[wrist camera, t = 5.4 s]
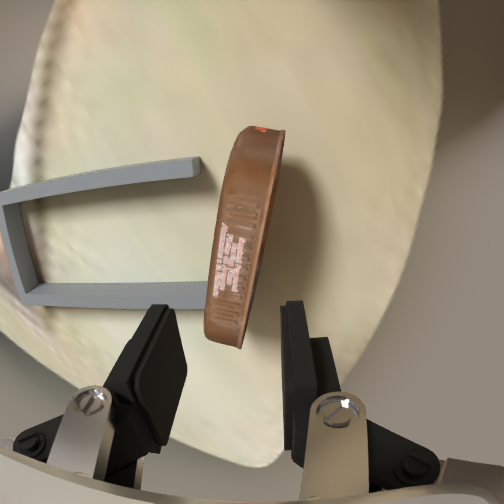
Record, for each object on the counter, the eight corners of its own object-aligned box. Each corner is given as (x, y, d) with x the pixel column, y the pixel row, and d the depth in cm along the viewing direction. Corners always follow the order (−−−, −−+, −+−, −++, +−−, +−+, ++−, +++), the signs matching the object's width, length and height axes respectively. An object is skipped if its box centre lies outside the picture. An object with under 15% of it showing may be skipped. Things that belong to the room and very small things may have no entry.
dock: (8, 189, 24) (-8, 194, 22) (199, 156, 23) (191, 159, 21) (34, 293, 28) (21, 304, 26) (214, 293, 27) (209, 309, 25)
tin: (251, 310, 28) (243, 376, 20) (215, 303, 28) (196, 367, 20) (287, 131, 22) (297, 130, 14) (244, 124, 22) (231, 118, 14)
